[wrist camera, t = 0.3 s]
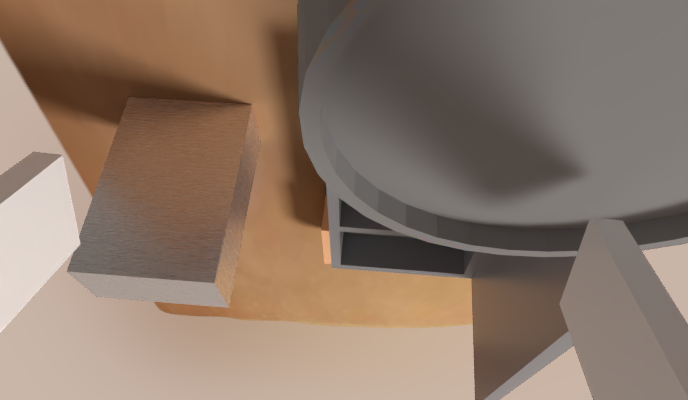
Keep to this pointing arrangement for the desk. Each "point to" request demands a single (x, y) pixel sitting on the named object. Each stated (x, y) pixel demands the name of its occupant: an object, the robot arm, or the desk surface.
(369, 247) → the rack
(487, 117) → the reusable coffee cup
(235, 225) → the brushed metal block
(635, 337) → the robot arm
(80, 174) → the desk surface
